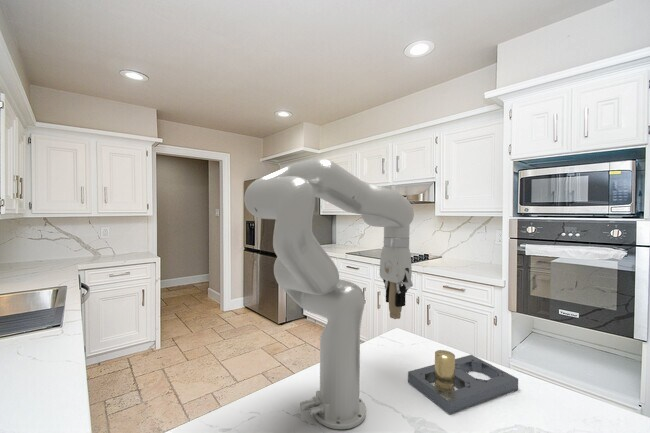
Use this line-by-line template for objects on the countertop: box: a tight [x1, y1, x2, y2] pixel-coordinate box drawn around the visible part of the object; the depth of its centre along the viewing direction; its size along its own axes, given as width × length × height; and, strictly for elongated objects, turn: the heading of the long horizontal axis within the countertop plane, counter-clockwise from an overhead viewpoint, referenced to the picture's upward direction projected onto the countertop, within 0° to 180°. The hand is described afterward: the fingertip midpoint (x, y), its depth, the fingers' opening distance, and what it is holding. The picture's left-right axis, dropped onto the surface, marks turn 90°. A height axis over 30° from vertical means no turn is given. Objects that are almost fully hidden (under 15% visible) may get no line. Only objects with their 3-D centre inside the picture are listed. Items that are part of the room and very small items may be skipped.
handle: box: [385, 268, 403, 320], centre depth 91 cm, size 5×6×15 cm
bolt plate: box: [407, 354, 519, 415], centre depth 84 cm, size 25×15×3 cm, turn 114°
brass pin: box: [434, 349, 456, 392], centre depth 81 cm, size 5×5×10 cm
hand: (395, 303), depth 91 cm, fingers closed on handle, 4 cm apart
